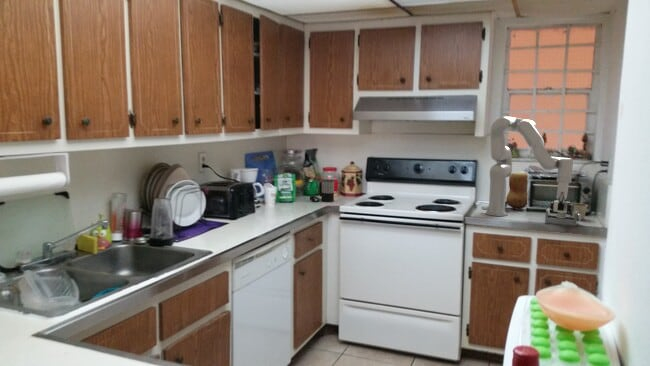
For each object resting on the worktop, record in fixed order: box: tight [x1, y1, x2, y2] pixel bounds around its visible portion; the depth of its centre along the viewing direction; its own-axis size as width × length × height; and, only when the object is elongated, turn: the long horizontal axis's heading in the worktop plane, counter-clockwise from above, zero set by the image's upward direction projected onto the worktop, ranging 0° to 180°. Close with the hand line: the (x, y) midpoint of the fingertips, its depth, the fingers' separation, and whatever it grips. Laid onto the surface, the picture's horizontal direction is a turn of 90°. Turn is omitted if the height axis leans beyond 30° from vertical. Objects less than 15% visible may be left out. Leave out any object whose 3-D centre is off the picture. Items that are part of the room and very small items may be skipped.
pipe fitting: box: [544, 207, 582, 227], centre depth 294 cm, size 18×10×7 cm, turn 61°
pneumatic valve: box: [549, 199, 574, 219], centre depth 295 cm, size 6×12×12 cm, turn 42°
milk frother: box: [309, 178, 335, 203], centre depth 356 cm, size 14×16×15 cm
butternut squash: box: [505, 170, 529, 210], centre depth 336 cm, size 14×13×25 cm
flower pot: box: [571, 202, 589, 220], centre depth 308 cm, size 9×9×9 cm
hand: (561, 209), depth 294 cm, fingers open, 9 cm apart
